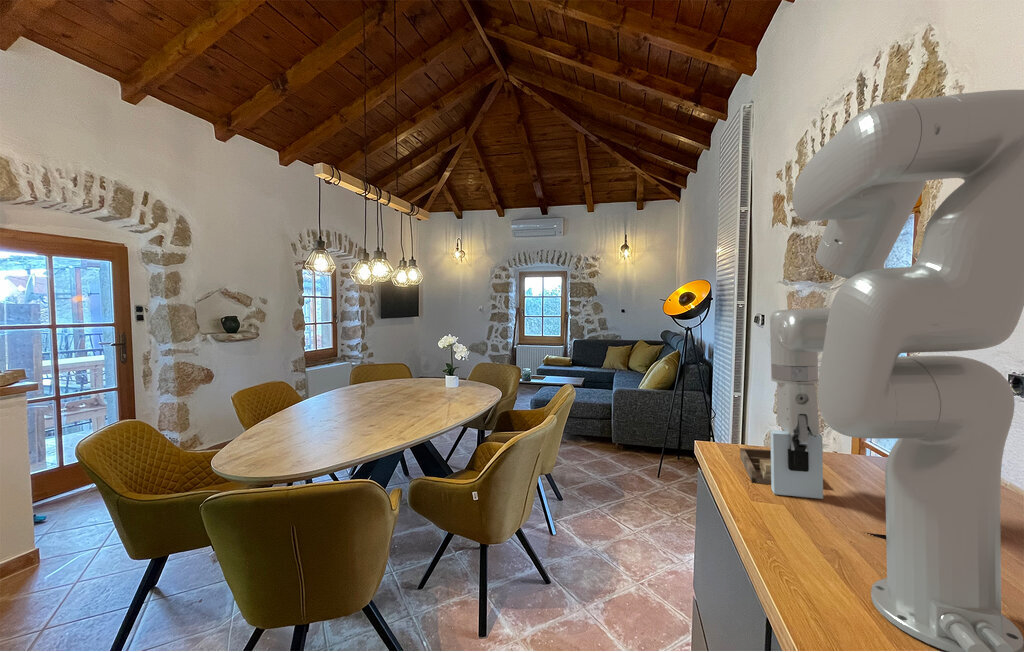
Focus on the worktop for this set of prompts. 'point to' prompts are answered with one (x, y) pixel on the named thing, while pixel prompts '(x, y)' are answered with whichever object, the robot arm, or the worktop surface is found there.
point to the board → (796, 480)
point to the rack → (755, 463)
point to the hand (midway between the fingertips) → (796, 466)
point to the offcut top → (765, 466)
